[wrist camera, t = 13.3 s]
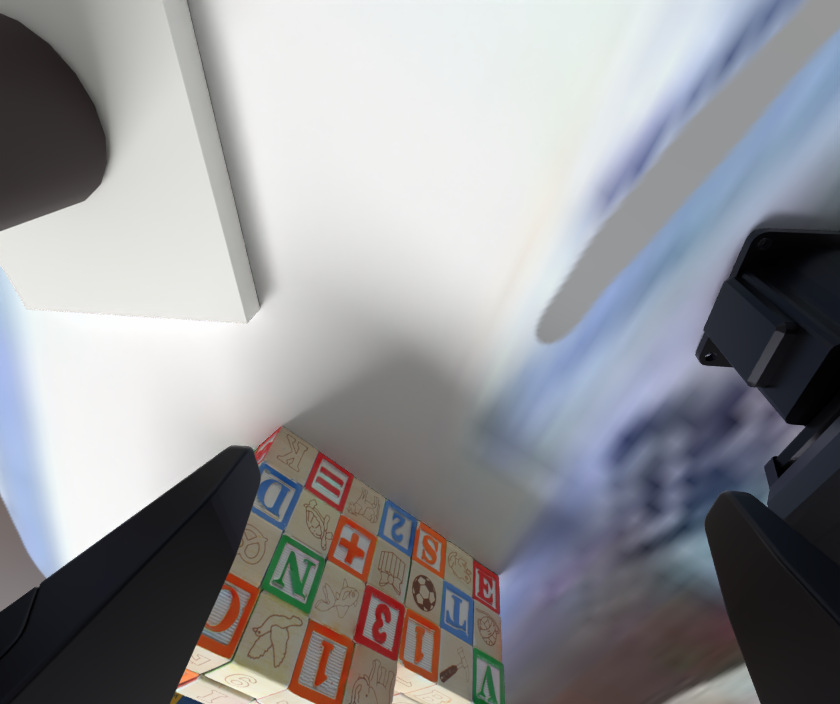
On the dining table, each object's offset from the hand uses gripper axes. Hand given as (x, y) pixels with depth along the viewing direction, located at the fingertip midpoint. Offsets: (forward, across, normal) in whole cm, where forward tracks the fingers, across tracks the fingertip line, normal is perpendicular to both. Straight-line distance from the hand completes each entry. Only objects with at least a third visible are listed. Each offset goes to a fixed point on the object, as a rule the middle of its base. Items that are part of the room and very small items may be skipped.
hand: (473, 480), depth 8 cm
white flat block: (+13, +17, -4) cm, 22 cm away
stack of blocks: (+13, +6, +22) cm, 26 cm away
